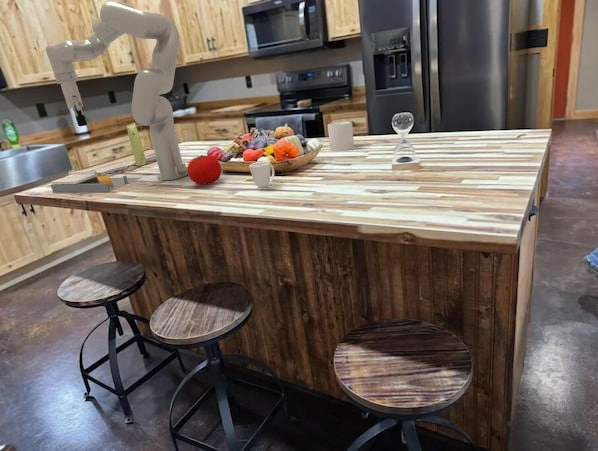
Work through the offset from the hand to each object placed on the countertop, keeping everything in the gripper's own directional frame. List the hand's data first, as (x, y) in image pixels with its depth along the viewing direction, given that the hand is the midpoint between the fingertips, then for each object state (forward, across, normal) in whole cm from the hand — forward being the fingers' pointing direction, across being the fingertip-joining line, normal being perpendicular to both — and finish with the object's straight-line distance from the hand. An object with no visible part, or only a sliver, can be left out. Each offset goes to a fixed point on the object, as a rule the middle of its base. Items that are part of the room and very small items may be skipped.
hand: (83, 125), depth 171 cm
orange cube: (+24, +15, 0) cm, 28 cm away
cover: (+23, +2, -10) cm, 25 cm away
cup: (+27, +72, +41) cm, 87 cm away
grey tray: (+24, +5, -2) cm, 25 cm away
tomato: (+26, +48, +29) cm, 62 cm away
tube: (+24, -18, +21) cm, 37 cm away
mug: (+28, +50, +90) cm, 107 cm away
